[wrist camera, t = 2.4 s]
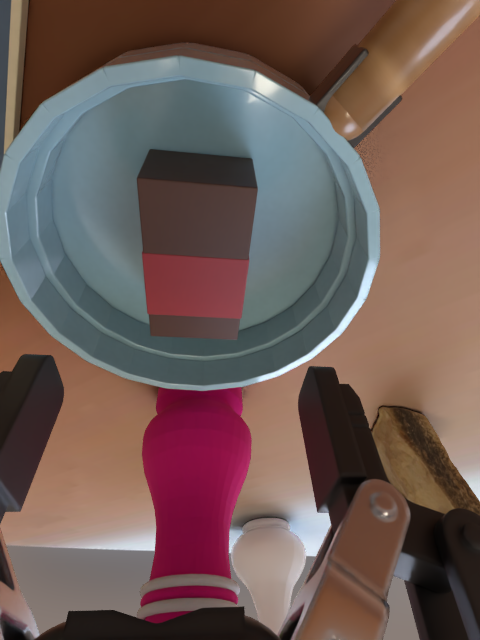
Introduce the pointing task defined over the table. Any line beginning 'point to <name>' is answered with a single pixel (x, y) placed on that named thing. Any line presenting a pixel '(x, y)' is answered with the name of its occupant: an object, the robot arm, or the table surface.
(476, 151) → the table surface
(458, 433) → the table surface
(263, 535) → the flower vase
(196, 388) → the pan
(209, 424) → the pepper mill
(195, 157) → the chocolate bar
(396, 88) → the pan handle
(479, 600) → the robot arm
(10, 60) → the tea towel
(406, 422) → the rock
